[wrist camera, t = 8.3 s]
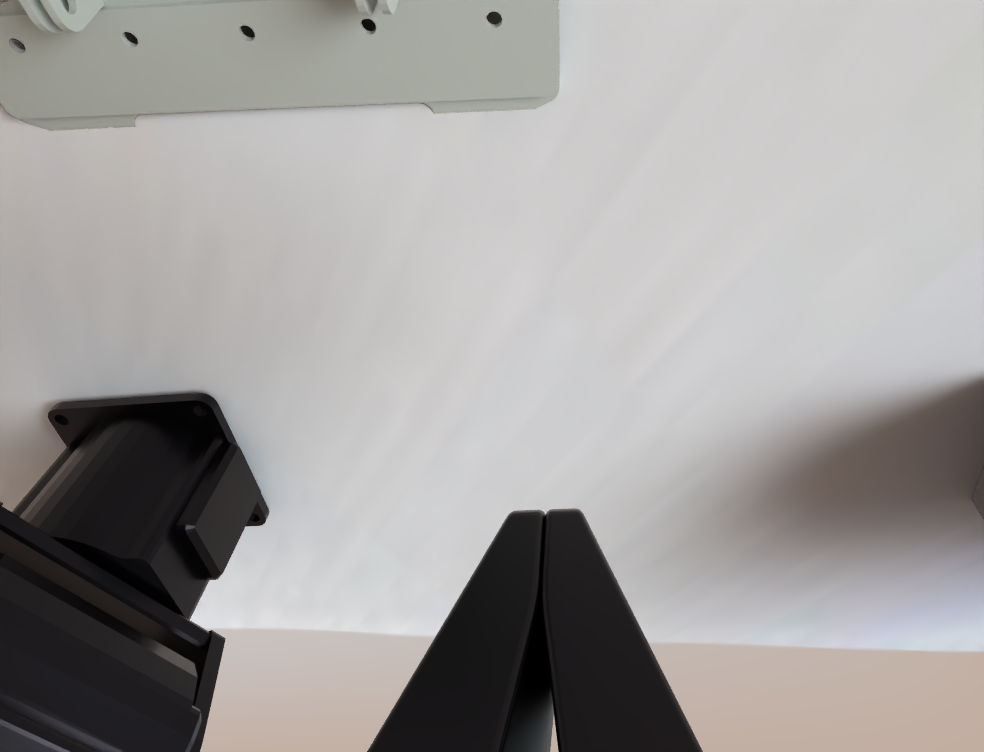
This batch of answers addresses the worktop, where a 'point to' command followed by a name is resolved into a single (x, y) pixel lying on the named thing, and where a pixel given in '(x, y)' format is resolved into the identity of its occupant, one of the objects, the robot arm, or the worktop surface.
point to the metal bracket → (270, 56)
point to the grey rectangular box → (979, 494)
